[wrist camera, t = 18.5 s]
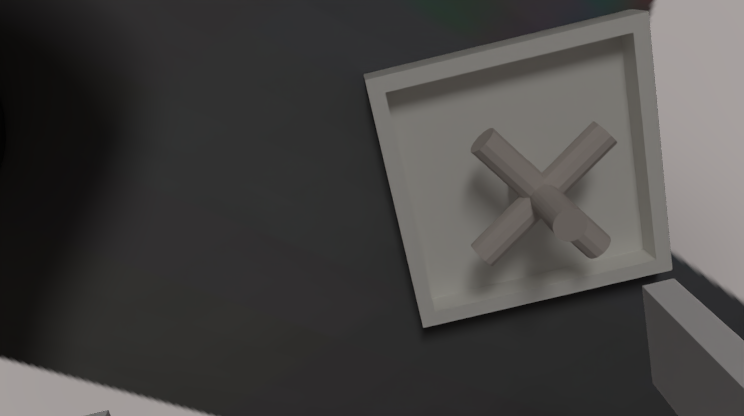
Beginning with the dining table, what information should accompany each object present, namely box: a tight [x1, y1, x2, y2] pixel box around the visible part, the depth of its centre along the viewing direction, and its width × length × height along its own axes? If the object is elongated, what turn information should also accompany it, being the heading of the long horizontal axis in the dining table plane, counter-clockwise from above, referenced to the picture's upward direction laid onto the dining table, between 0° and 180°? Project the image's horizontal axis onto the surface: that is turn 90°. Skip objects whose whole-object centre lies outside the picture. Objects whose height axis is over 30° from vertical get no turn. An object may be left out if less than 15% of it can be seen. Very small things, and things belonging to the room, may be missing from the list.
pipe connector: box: [471, 121, 617, 266], centre depth 40 cm, size 10×10×10 cm
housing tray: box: [363, 9, 672, 328], centre depth 44 cm, size 17×17×2 cm
